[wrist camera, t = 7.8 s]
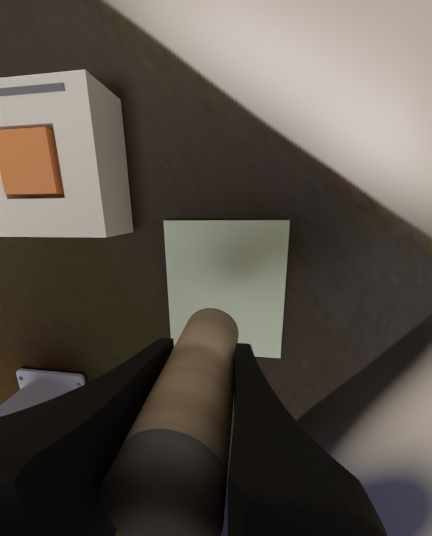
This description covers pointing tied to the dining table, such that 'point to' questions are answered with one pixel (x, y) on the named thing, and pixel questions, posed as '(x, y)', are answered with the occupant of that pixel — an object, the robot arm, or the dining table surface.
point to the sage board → (229, 276)
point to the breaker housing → (70, 157)
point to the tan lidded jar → (179, 439)
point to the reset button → (30, 162)
